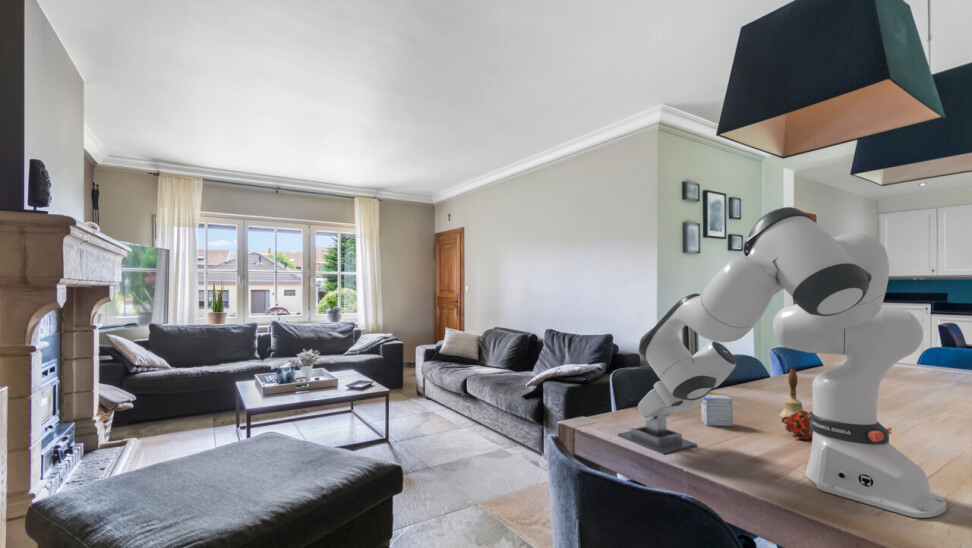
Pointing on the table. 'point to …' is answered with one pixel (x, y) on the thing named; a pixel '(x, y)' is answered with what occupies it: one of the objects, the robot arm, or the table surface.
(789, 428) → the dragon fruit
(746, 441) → the table surface
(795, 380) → the hand bell
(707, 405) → the medicine box
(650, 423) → the nut block
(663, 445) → the rectangular socket base
